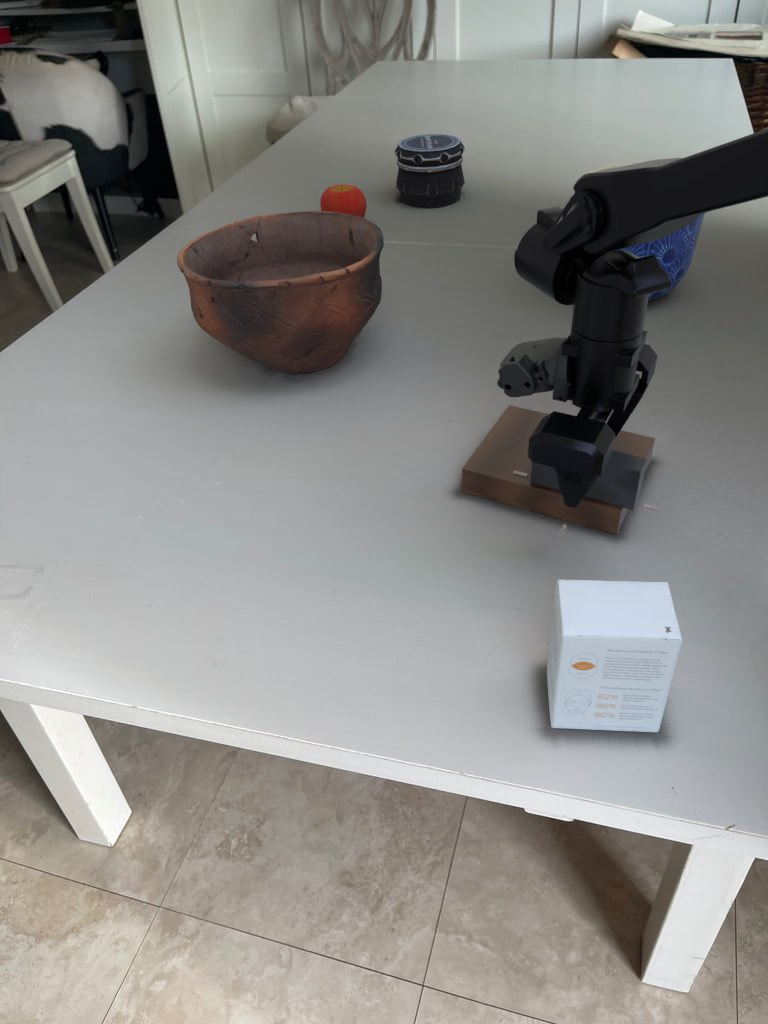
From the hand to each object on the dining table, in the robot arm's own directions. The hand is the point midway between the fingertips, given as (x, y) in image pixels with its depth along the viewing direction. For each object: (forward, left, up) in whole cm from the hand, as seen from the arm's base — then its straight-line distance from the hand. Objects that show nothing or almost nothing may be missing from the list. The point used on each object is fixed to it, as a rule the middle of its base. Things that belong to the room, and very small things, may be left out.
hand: (585, 478), depth 76 cm
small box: (-8, +21, -5) cm, 23 cm away
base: (+2, -2, -5) cm, 6 cm away
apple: (+60, -58, -5) cm, 84 cm away
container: (+53, -78, -5) cm, 94 cm away
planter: (+9, -52, -5) cm, 53 cm away
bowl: (+44, -17, -5) cm, 47 cm away
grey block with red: (0, 0, -1) cm, 1 cm away
